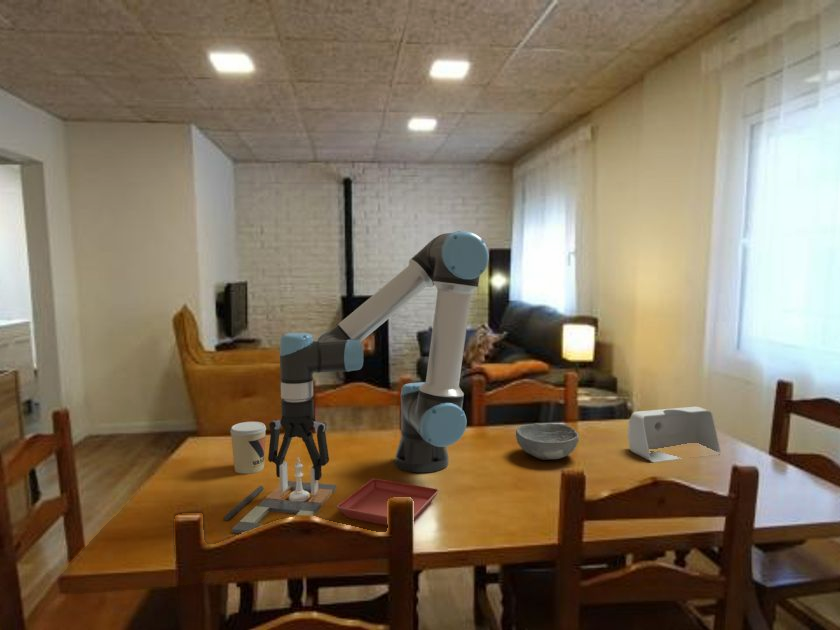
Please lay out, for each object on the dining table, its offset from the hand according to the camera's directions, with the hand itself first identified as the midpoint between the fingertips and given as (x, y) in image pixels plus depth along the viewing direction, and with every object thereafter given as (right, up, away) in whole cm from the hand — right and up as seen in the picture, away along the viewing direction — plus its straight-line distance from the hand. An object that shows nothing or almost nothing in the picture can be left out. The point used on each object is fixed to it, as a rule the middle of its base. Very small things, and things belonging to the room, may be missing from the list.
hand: (299, 491), depth 132 cm
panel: (-1, -2, -6) cm, 6 cm away
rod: (-12, -2, -4) cm, 13 cm away
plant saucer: (+22, -3, -6) cm, 23 cm away
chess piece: (0, -2, 0) cm, 2 cm away
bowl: (+66, +1, +28) cm, 72 cm away
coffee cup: (-18, 0, +19) cm, 26 cm away
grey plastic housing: (+105, +1, +34) cm, 110 cm away
